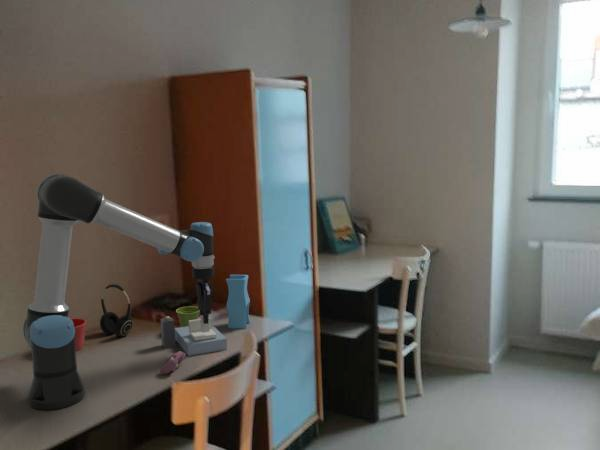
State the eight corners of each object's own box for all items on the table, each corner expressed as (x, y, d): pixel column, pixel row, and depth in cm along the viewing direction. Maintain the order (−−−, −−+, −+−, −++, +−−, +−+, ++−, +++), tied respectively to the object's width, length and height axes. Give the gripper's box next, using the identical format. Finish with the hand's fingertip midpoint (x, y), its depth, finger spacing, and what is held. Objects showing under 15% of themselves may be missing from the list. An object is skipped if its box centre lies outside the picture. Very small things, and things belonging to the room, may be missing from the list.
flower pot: (62, 356, 202) (60, 329, 201) (51, 348, 210) (49, 322, 209) (92, 349, 209) (90, 323, 207) (80, 341, 217) (79, 316, 216)
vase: (231, 321, 239) (230, 274, 236) (250, 322, 238) (249, 274, 235) (227, 328, 231) (225, 279, 228) (246, 328, 230) (245, 279, 227)
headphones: (111, 328, 231) (108, 280, 228) (139, 334, 224) (137, 284, 221) (94, 335, 224) (91, 284, 221) (123, 341, 217) (120, 289, 214)
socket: (188, 355, 202) (188, 344, 201) (174, 338, 219) (174, 328, 219) (226, 349, 208) (226, 338, 207) (210, 332, 225) (210, 323, 225)
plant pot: (206, 329, 229) (205, 308, 228) (189, 336, 221) (188, 314, 220) (188, 325, 234) (187, 305, 233) (171, 332, 226) (170, 310, 225)
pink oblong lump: (169, 380, 185) (178, 362, 184) (157, 373, 186) (165, 355, 184) (181, 368, 195) (190, 351, 193) (170, 361, 195) (178, 344, 194)
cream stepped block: (194, 340, 204) (194, 326, 203) (189, 334, 211) (188, 320, 210) (216, 337, 207) (216, 323, 207) (210, 330, 215) (209, 317, 214)
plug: (164, 348, 209) (162, 319, 207) (161, 345, 212) (160, 316, 211) (175, 346, 211) (174, 317, 209) (172, 343, 214) (171, 314, 213)
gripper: (219, 269, 198) (221, 335, 202) (208, 262, 210) (210, 324, 213) (197, 271, 195) (199, 338, 199) (187, 264, 207) (190, 327, 210)
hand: (205, 331), depth 206 cm, fingers closed
